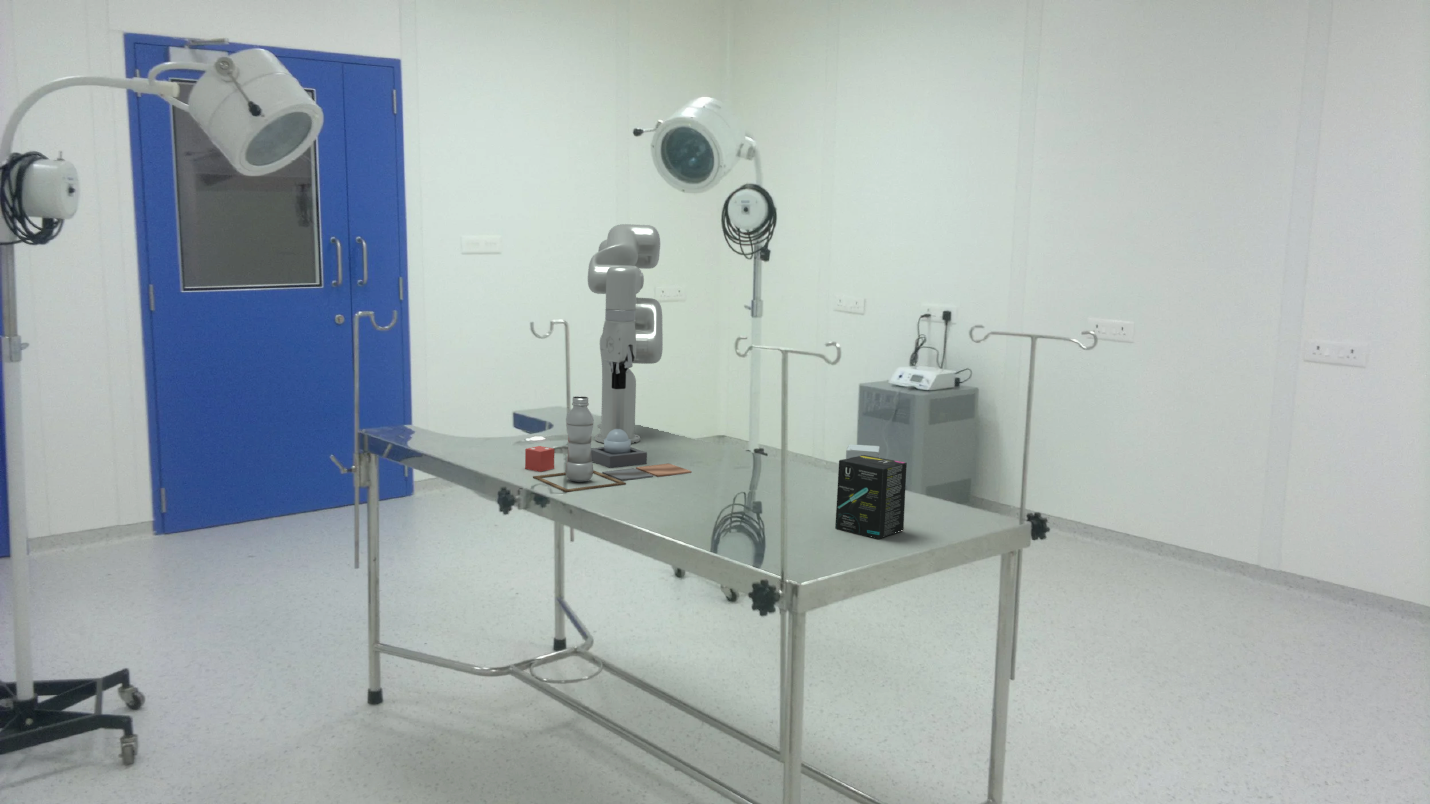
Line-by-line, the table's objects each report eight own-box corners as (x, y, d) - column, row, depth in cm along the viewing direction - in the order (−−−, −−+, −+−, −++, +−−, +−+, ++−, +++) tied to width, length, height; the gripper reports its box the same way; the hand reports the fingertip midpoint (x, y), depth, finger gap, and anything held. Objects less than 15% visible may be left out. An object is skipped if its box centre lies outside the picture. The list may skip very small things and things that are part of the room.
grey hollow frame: (587, 459, 274) (587, 448, 274) (623, 455, 281) (624, 444, 280) (609, 468, 266) (609, 456, 265) (646, 463, 272) (646, 452, 272)
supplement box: (875, 507, 237) (878, 451, 235) (842, 504, 238) (845, 449, 237) (877, 499, 244) (880, 445, 242) (844, 496, 246) (847, 443, 244)
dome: (598, 450, 274) (599, 427, 273) (621, 448, 278) (621, 425, 277) (612, 455, 268) (613, 432, 267) (635, 453, 272) (636, 430, 271)
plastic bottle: (579, 485, 246) (581, 400, 243) (559, 481, 250) (560, 397, 247) (599, 481, 252) (600, 397, 248) (578, 476, 256) (579, 394, 252)
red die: (525, 468, 262) (525, 448, 261) (539, 465, 266) (539, 445, 265) (540, 471, 259) (540, 451, 258) (554, 468, 263) (554, 448, 262)
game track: (532, 477, 253) (532, 476, 252) (662, 462, 275) (662, 461, 274) (565, 492, 240) (565, 490, 240) (698, 475, 262) (698, 473, 262)
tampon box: (904, 531, 218) (908, 462, 216) (879, 540, 211) (883, 468, 209) (859, 521, 225) (863, 453, 223) (834, 528, 218) (838, 459, 216)
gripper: (592, 314, 271) (590, 385, 274) (623, 319, 259) (621, 393, 262) (617, 313, 276) (615, 384, 278) (649, 318, 264) (647, 392, 267)
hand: (618, 388), depth 270 cm, fingers closed
